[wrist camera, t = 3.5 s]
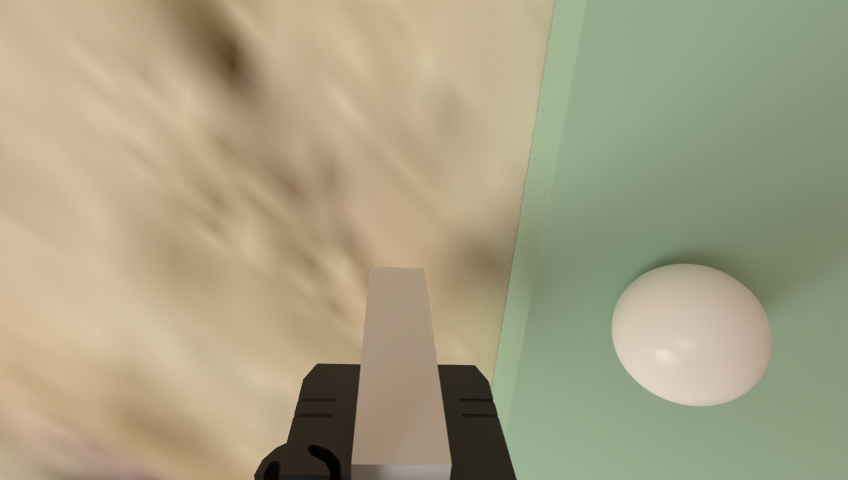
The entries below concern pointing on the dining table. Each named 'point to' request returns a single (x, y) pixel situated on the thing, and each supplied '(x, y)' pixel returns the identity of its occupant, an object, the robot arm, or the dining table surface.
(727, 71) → the green
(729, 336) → the ball
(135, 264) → the dining table surface
